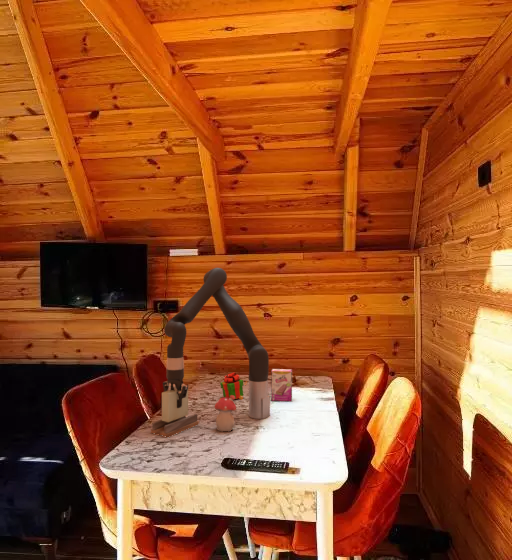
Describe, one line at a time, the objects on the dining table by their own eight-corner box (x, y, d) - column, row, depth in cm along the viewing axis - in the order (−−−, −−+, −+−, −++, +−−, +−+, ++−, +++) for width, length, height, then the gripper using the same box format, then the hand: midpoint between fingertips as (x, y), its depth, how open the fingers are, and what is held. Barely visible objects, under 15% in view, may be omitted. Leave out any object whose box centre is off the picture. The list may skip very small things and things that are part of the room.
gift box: (211, 401, 228) (208, 376, 228) (238, 392, 241) (234, 367, 240) (234, 407, 213) (230, 380, 213) (260, 397, 226) (257, 370, 225)
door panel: (188, 414, 185) (188, 387, 185) (168, 422, 175) (168, 393, 175) (181, 413, 187) (181, 386, 187) (161, 420, 177) (161, 392, 177)
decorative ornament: (238, 428, 180) (238, 394, 180) (231, 433, 174) (231, 398, 174) (219, 425, 184) (219, 392, 184) (212, 430, 178) (212, 395, 178)
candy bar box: (271, 401, 222) (271, 370, 222) (271, 398, 227) (271, 368, 227) (292, 401, 221) (291, 371, 221) (292, 399, 226) (292, 369, 226)
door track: (198, 424, 186) (198, 414, 186) (167, 437, 170) (167, 426, 170) (182, 420, 191) (182, 410, 191) (150, 433, 176) (150, 422, 176)
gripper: (193, 367, 180) (193, 407, 180) (169, 364, 188) (169, 402, 188) (181, 370, 174) (181, 411, 174) (157, 367, 182) (157, 406, 182)
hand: (175, 406), depth 181 cm, fingers closed on door panel, 4 cm apart
